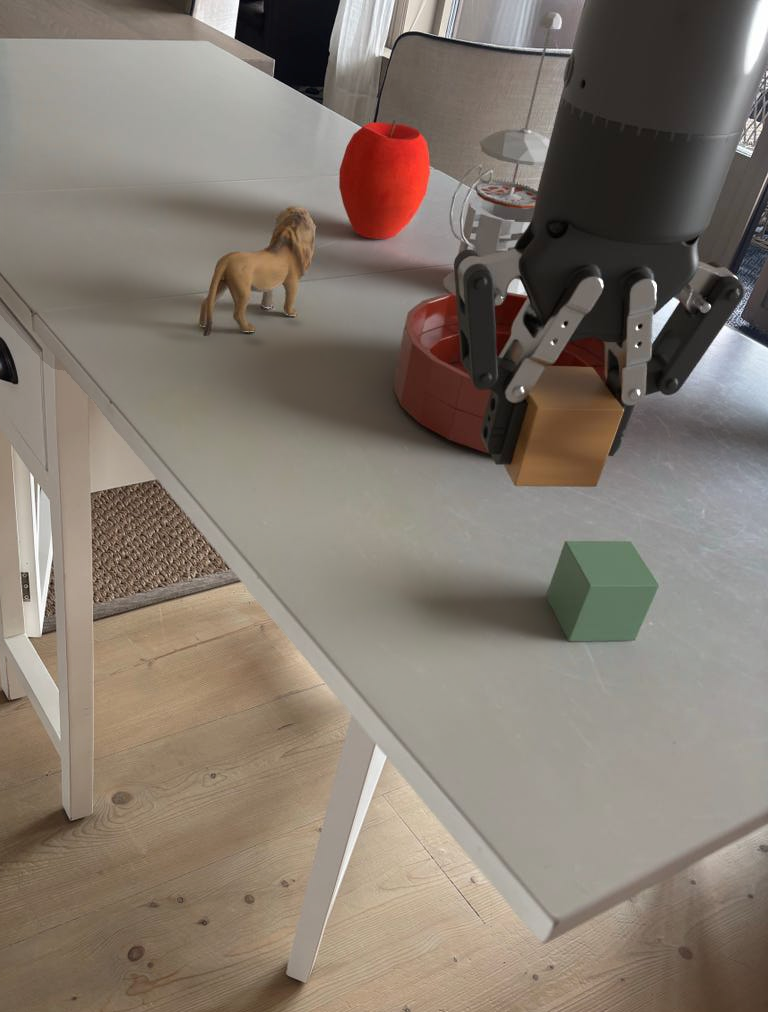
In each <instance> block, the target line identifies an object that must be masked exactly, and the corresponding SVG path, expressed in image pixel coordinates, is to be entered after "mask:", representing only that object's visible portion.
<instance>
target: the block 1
mask: <svg viewBox="0 0 768 1012" xmlns="http://www.w3.org/2000/svg"><path fill="white" fill-rule="evenodd" d="M525 400H526V401H527V403H528V406H527V410H526V413H525V417H524V420H523V424H522V427H521V431H520V434H519V438H518V441H517V445H516V449H515V452H514V456H513V459H512V462H511V464H510V465H503V466H504V468H505V471H506V472H507V474H508V476H509V478H510V480H511V481H512V484H513V485H514V487H561V488H563V487H564V488H565V487H566V488H567V487H571V488H573V487H578V488H579V487H580V488H596V487H597V486H598V484H599V481H600V479H601V475H602V473H603V470H604V468H605V465H606V462H607V460H608V457H609V456H608V454H609V451H610V448H611V445H612V443H613V440H614V437H615V434H616V431H617V429H618V426H619V423H620V420H621V417H622V415H623V412H624V409H623V408H622V406H621V405H620V404H619V402H618V401H617V400H616V398H615V397H614V396H613V394H612V393H611V391H610V390H609V389H608V387H607V386H606V385H605V383H604V382H603V381H602V379H601V378H600V377H599V375H598V374H597V373H596V371H595V370H594V369H593V368H592V367H571V366H547V367H546V368H545V369H544V371H543V372H542V374H541V375H540V377H539V379H538V380H537V382H536V383H535V385H534V387H533V388H532V390H531V392H530V393H529V395H528V396H527V397H526V399H525ZM607 456H608V457H607ZM606 459H607V460H606Z"/></svg>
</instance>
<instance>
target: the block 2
mask: <svg viewBox="0 0 768 1012" xmlns="http://www.w3.org/2000/svg"><path fill="white" fill-rule="evenodd" d="M659 588H660V584H659V582H658V580H657V579H656V578H655V575H654V574H653V573H652V571H651V570H650V568H649V567H648V565H647V563H646V561H645V560H644V559H643V557H642V556H641V554H640V553H639V551H638V549H637V548H636V546H635V545H634V543H633V542H632V541H630V540H627V541H626V540H623V541H622V540H616V541H615V540H611V541H610V540H565V541H564V543H563V545H562V549H561V552H560V554H559V557H558V560H557V564H556V566H555V569H554V572H553V573H552V577H551V580H550V583H549V586H548V589H547V592H546V594H545V598H546V599H547V602H548V603H549V605H550V607H551V609H552V611H553V613H554V615H555V617H556V619H557V621H558V623H559V625H560V627H561V629H562V631H563V633H564V635H565V637H566V639H567V642H618V641H636V640H637V637H638V636H639V633H640V630H641V628H642V626H643V624H644V622H645V619H646V618H647V614H648V612H649V610H650V608H651V606H652V603H653V601H654V599H655V597H656V594H657V593H658V590H659Z"/></svg>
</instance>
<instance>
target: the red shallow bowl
mask: <svg viewBox="0 0 768 1012" xmlns="http://www.w3.org/2000/svg"><path fill="white" fill-rule="evenodd" d="M527 298H528V296H527V295H521V294H515V293H509V292H507V295H506V298H505V299H504V301H503V303H502V304H501V305H497V306H495V323H496V345H497V356H498V357H499V355H500V354H501V352H502V350H503V348H504V347H505V345H506V343H507V342H508V340H509V338H510V336H511V328H512V324H513V322H514V320H515V318H516V317H517V315H518V313H519V311H520V310H521V308H522V306H523V304H524V303H525V301H526V299H527ZM543 328H544V326H543ZM548 366H571V367H592V368H593V369H594V370H595V371H596V373H597V374H598V375H599V377H600V378H601V379H602V381H603V382H604V383H605V382H606V379H605V375H604V372H605V346H604V342H603V341H602V340H598V339H595V338H587V339H582V340H577V341H568V342H567V344H566V346H565V347H564V349H563V350H562V352H561V354H560V355H559V357H558V358H557V360H556V361H555V363H554V364H552V365H548ZM394 377H395V378H394V381H393V382H394V383H393V390H394V392H395V395H396V398H397V400H398V402H399V405H400V406H401V408H403V409H404V410H405V411H406V412H407V413H408V414H409V415H410V416H411V417H412V418H413V419H415V421H417V422H418V424H419V425H422V426H423V427H425V428H427V429H429V430H431V431H432V432H434V433H436V434H438V435H439V436H441V437H443V438H445V439H446V440H449V441H451V442H454V443H457V444H460V445H463V446H465V447H468V448H471V449H474V450H477V451H480V452H483V453H486V454H489V452H488V450H487V448H486V446H485V445H484V443H483V441H482V437H481V428H482V424H483V420H484V416H485V412H486V408H487V404H488V400H489V396H490V392H491V390H489V389H486V390H480V389H478V388H476V387H475V385H474V384H473V382H472V380H471V378H470V376H469V374H468V373H467V371H466V369H465V367H464V365H463V363H462V361H461V355H460V342H459V328H458V314H457V301H456V292H455V293H450V292H445V293H443V294H440V295H436V296H433V297H431V298H430V297H429V298H427V299H425V300H424V299H423V300H421V301H420V302H419V303H418V304H416V305H415V306H414V307H413V308H412V309H410V310H409V311H408V312H407V315H406V319H405V323H404V326H403V333H402V339H401V343H400V349H399V355H398V360H397V365H396V371H395V376H394Z"/></svg>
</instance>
